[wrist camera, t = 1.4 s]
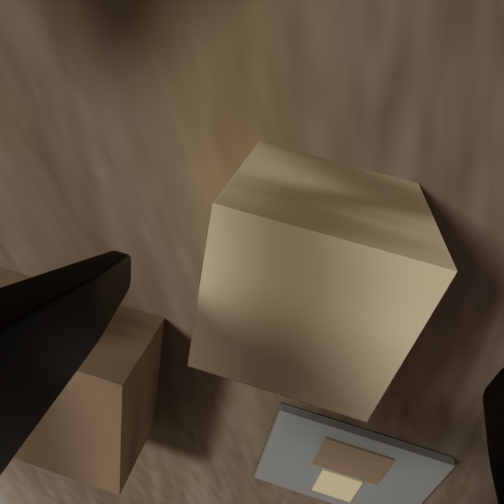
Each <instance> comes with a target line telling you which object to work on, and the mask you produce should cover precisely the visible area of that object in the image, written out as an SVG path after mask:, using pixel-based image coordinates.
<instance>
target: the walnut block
mask: <svg viewBox="0 0 504 504" xmlns="http://www.w3.org/2000/svg"><path fill="white" fill-rule="evenodd" d="M28 278H31V277H30V276H27V275H23V274H20V273H17V272H14V271H10V270H7V269H4V268H1V267H0V288H1V287H4V286H7V285H10V284H13V283H16V282H19V281H22V280H25V279H28ZM164 320H165V318H163V317H160V316H156V315H153V314H150V313H147V312H143V311H140V310H137V309H134V308H130V307H127V306H124V305H121V304H120V305H119V307H118V309H117V311H116V312H115V314H114V316H113V318H112V319H111V321H110V323H109V325H108V326H107V328H106V330H105V332H104V333H103V335H102V337H101V338H100V340H99V341H98V343H97V344H96V346H95V347H94V348H93V350H92V351H91V353H90V354H89V355H88V357H87V358H86V359H85V361H84V362H83V363H82V365H81V366H80V367H79V369H78V370H77V372H76V373H75V374H74V376H73V377H72V378H71V380H70V381H69V382H68V384H67V385H66V386H65V388H64V389H63V391H62V392H61V393H60V395H59V396H58V397H57V399H56V400H55V401H54V403H53V404H52V406H51V407H50V408H49V410H48V411H47V412H46V414H45V415H44V416H43V418H42V419H41V420H40V422H39V423H38V425H37V426H36V427H35V429H34V430H33V431H32V433H31V434H30V435H29V437H28V438H27V439H26V441H25V442H24V444H23V445H22V446H21V448H20V449H19V450H18V452H17V453H16V454H15V456H14V457H13V458H15V459H17V460H20V461H23V462H26V463H29V464H32V465H35V466H37V467H40V468H43V469H46V470H49V471H52V472H55V473H57V474H60V475H63V476H66V477H69V478H72V479H74V480H77V481H80V482H83V483H86V484H89V485H92V486H94V487H97V488H100V489H103V490H106V491H109V492H111V493H114V494H117V495H120V493H121V491H122V489H123V487H124V485H125V483H126V481H127V479H128V477H129V475H130V473H131V470H132V468H133V466H134V464H135V462H136V460H137V458H138V456H139V454H140V452H141V450H142V448H143V446H144V444H145V442H146V440H147V438H148V436H149V434H150V432H151V430H152V427H153V425H154V417H155V408H156V398H157V388H158V378H159V369H160V359H161V349H162V339H163V330H164Z"/></svg>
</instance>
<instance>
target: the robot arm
mask: <svg viewBox="0 0 504 504" xmlns="http://www.w3.org/2000/svg"><path fill="white" fill-rule="evenodd" d="M130 282H131V257H130V256H129V255H128V254H125V253H122V252H118V251H110V252H107V253H104V254H101V255H98V256H95V257H92V258H89V259H86V260H83V261H80V262H77V263H74V264H71V265H68V266H65V267H62V268H59V269H56V270H52V271H49V272H46V273H43V274H40V275H37V276H34V277H31V278H28V279H25V280H22V281H19V282H16V283H13V284H10V285H7V286H4V287H1V288H0V475H1V473H2V472H3V471H4V469H5V468H6V467H7V465H8V464H9V463H10V461H11V460H12V458H13V457H14V456H15V454H16V453H17V452H18V450H19V449H20V448H21V446H22V445H23V444H24V442H25V441H26V439H27V438H28V437H29V435H30V434H31V433H32V431H33V430H34V429H35V427H36V426H37V425H38V423H39V422H40V420H41V419H42V418H43V416H44V415H45V414H46V412H47V411H48V410H49V408H50V407H51V406H52V404H53V403H54V401H55V400H56V399H57V397H58V396H59V395H60V393H61V392H62V391H63V389H64V388H65V386H66V385H67V384H68V382H69V381H70V380H71V378H72V377H73V376H74V374H75V373H76V372H77V370H78V369H79V367H80V366H81V365H82V363H83V362H84V361H85V359H86V358H87V357H88V355H89V354H90V353H91V351H92V350H93V348H94V347H95V346H96V344H97V343H98V341H99V340H100V338H101V337H102V335H103V333H104V332H105V330H106V328H107V326H108V325H109V323H110V321H111V319H112V318H113V316H114V314H115V312H116V311H117V309H118V307H119V305H120V304H121V302H122V300H123V298H124V297H125V295H126V293H127V291H128V289H129V286H130ZM483 405H484V415H485V424H486V434H487V444H488V453H489V460H490V467H491V472H492V477H493V482H494V487H495V491H496V496H497V501H498V504H504V368H503V369H501V370H500V371H499V373H498V374H497V375H496V376H495V378H494V379H493V380H492V381H491V382H490V384H489V385H488V386H487V387H486V389H485V391H484V394H483Z"/></svg>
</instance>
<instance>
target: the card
mask: <svg viewBox="0 0 504 504" xmlns="http://www.w3.org/2000/svg"><path fill="white" fill-rule="evenodd" d="M454 467H455V462H454V458H453V457H450V456H447V455H444V454H441V453H438V452H435V451H431V450H428V449H425V448H422V447H419V446H416V445H412V444H409V443H406V442H403V441H400V440H397V439H393V438H390V437H387V436H384V435H381V434H378V433H374V432H371V431H368V430H365V429H362V428H359V427H355V426H352V425H349V424H346V423H343V422H340V421H336V420H333V419H330V418H327V417H324V416H321V415H317V414H314V413H311V412H308V411H305V410H302V409H299V408H295V407H292V406H289V405H286V404H283V403H281V405H280V407H279V410H278V413H277V415H276V418H275V420H274V423H273V426H272V428H271V431H270V434H269V436H268V439H267V441H266V444H265V447H264V449H263V452H262V454H261V457H260V460H259V462H258V465H257V468H256V470H255V475H254V478H257V479H260V480H263V481H266V482H269V483H272V484H275V485H278V486H281V487H284V488H287V489H290V490H293V491H296V492H299V493H302V494H305V495H308V496H311V497H314V498H317V499H320V500H323V501H326V502H329V503H332V504H422V502H423V501H424V500H425V499H426V498H427V497H428V496H429V495H430V494H431V493H432V491H433V490H434V489H435V488H436V487H437V486H438V485H439V484H440V483H441V482H442V480H443V479H444V478H445V477H446V476H447V475H448V474H449V473H450V472H451V470H452V469H453V468H454Z"/></svg>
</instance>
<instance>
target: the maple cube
mask: <svg viewBox="0 0 504 504" xmlns="http://www.w3.org/2000/svg"><path fill="white" fill-rule="evenodd" d="M457 272H458V271H457V269H456V267H455V264H454V262H453V260H452V258H451V256H450V253H449V251H448V249H447V247H446V244H445V242H444V240H443V238H442V235H441V233H440V231H439V229H438V226H437V224H436V222H435V220H434V217H433V215H432V213H431V211H430V208H429V206H428V204H427V202H426V199H425V197H424V195H423V193H422V190H421V188H420V186H419V184H418V183H415V182H412V181H408V180H404V179H400V178H396V177H393V176H389V175H385V174H381V173H377V172H374V171H370V170H366V169H362V168H358V167H355V166H351V165H347V164H343V163H339V162H336V161H332V160H328V159H324V158H320V157H317V156H313V155H309V154H305V153H301V152H298V151H294V150H290V149H286V148H282V147H279V146H275V145H271V144H267V143H263V142H260V141H259V143H258V144H257V145H256V147H255V148H254V149H253V151H252V152H251V153H250V155H249V156H248V157H247V158H246V160H245V161H244V162H243V164H242V165H241V166H240V168H239V169H238V170H237V172H236V173H235V174H234V176H233V177H232V178H231V180H230V181H229V182H228V184H227V185H226V186H225V187H224V189H223V190H222V191H221V193H220V194H219V195H218V197H217V198H216V199H215V201H214V202H213V204H212V211H211V217H210V223H209V230H208V236H207V243H206V249H205V256H204V262H203V269H202V275H201V281H200V288H199V294H198V301H197V307H196V314H195V320H194V327H193V333H192V339H191V346H190V352H189V359H188V365H187V366H190V367H193V368H196V369H199V370H202V371H206V372H209V373H212V374H215V375H218V376H221V377H225V378H228V379H231V380H234V381H237V382H240V383H244V384H247V385H250V386H253V387H256V388H260V389H263V390H266V391H269V392H272V393H275V394H279V395H282V396H285V397H288V398H291V399H295V400H298V401H301V402H304V403H307V404H310V405H314V406H317V407H320V408H323V409H326V410H329V411H333V412H336V413H339V414H342V415H345V416H349V417H352V418H355V419H358V420H361V421H364V422H367V421H368V419H369V417H370V416H371V414H372V413H373V411H374V409H375V408H376V406H377V404H378V403H379V401H380V399H381V398H382V396H383V394H384V393H385V391H386V389H387V388H388V386H389V384H390V383H391V381H392V379H393V378H394V376H395V374H396V373H397V371H398V369H399V368H400V366H401V364H402V363H403V361H404V359H405V358H406V356H407V354H408V353H409V351H410V349H411V348H412V346H413V345H414V343H415V341H416V340H417V338H418V336H419V335H420V333H421V331H422V330H423V328H424V326H425V325H426V323H427V321H428V320H429V318H430V316H431V315H432V313H433V311H434V310H435V308H436V306H437V305H438V303H439V301H440V300H441V298H442V296H443V295H444V293H445V291H446V290H447V288H448V286H449V285H450V283H451V281H452V280H453V278H454V277H455V275H456V273H457Z"/></svg>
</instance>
